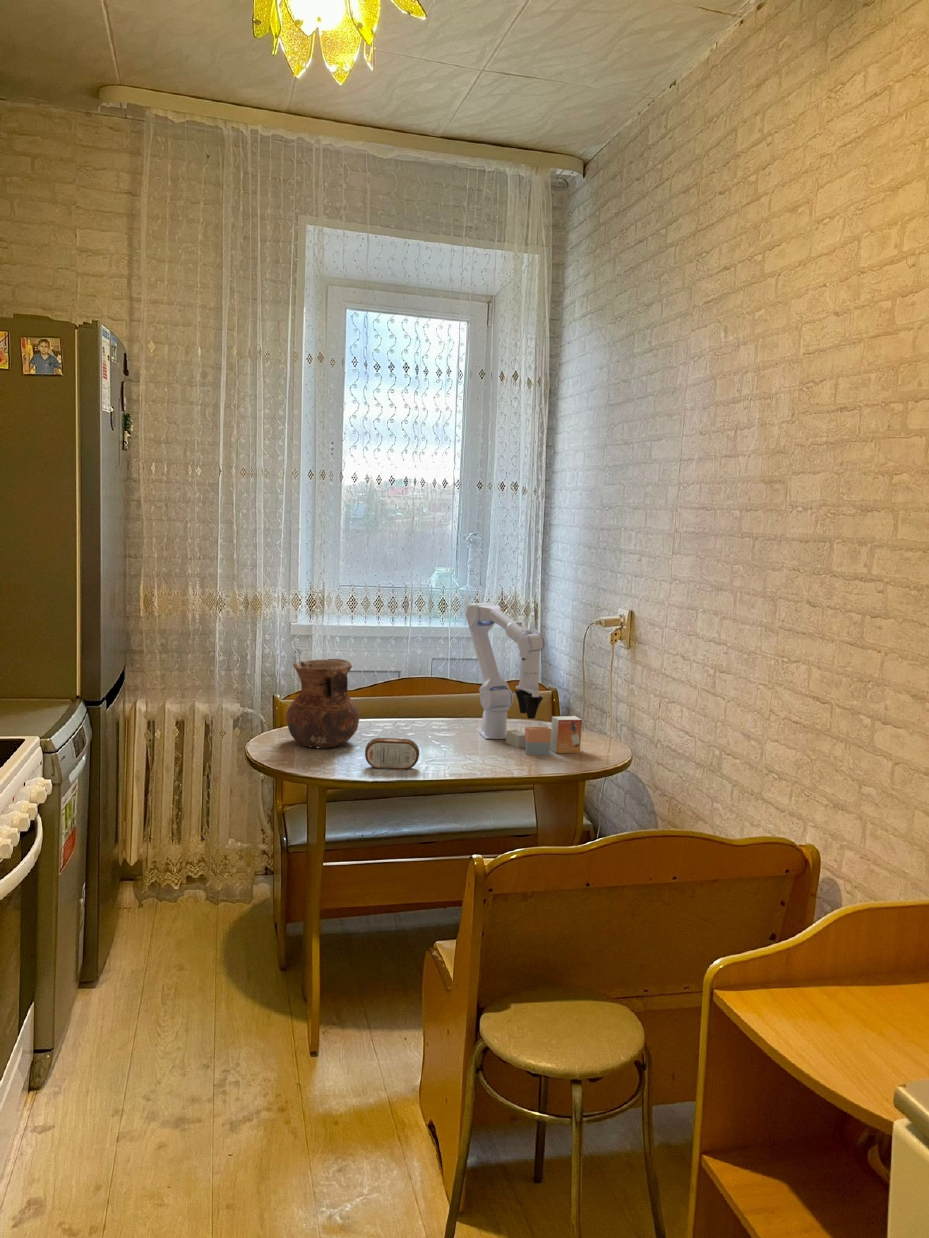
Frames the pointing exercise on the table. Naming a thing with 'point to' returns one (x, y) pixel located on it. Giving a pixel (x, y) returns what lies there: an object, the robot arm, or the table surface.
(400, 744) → the tin
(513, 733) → the grey brick
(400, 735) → the table surface
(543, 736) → the terracotta brick
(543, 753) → the slate brick
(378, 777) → the table surface
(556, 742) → the small box
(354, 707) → the jug
